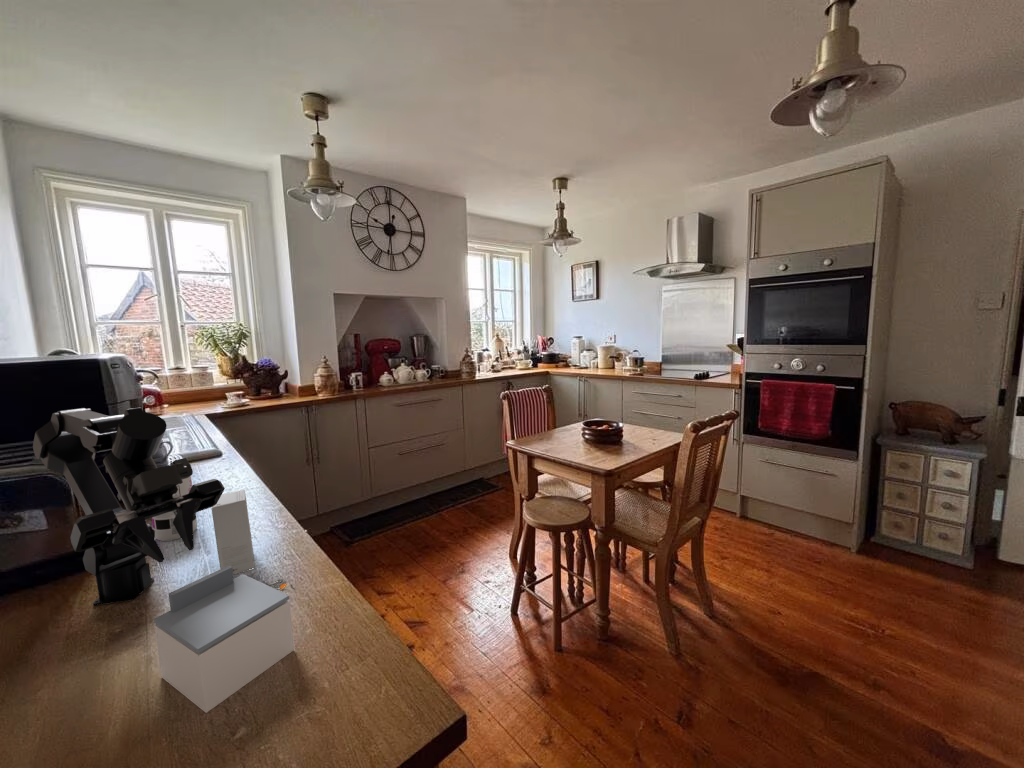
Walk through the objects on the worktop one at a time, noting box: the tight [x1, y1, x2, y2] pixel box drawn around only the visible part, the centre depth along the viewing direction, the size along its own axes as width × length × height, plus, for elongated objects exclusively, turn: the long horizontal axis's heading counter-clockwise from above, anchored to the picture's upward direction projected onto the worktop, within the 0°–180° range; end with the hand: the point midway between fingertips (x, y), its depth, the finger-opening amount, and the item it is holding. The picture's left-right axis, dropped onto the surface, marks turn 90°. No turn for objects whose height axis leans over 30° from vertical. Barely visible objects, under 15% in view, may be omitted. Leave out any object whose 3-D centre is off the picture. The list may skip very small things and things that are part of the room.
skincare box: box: [211, 489, 255, 575], centre depth 87 cm, size 8×6×15 cm
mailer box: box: [153, 600, 295, 714], centre depth 61 cm, size 12×12×8 cm
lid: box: [152, 566, 290, 654], centre depth 60 cm, size 12×12×3 cm
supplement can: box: [151, 475, 198, 542], centre depth 101 cm, size 8×8×15 cm
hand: (177, 554), depth 66 cm, fingers open, 4 cm apart
